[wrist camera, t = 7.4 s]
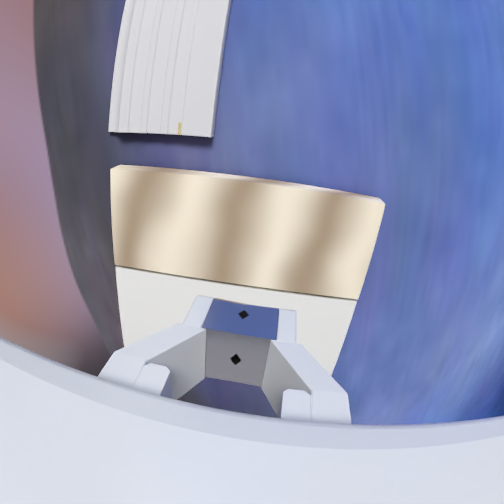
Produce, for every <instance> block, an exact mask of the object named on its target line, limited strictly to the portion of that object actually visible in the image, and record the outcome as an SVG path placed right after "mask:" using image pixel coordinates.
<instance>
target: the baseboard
mask: <svg viewBox="0 0 504 504" xmlns="http://www.w3.org/2000/svg"><path fill="white" fill-rule="evenodd" d="M231 1H232V0H126V2H125V7H124V12H123V17H122V22H121V28H120V34H119V40H118V46H117V53H116V60H115V67H114V75H113V84H112V93H111V104H110V117H109V132H124V133H157V134H176V135H189V136H202V137H213V136H214V127H215V118H216V109H217V101H218V92H219V84H220V76H221V69H222V61H223V54H224V47H225V40H226V33H227V26H228V20H229V13H230V7H231Z"/></svg>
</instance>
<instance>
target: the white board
mask: <svg viewBox="0 0 504 504" xmlns="http://www.w3.org/2000/svg"><path fill="white" fill-rule="evenodd" d="M116 278H117V290H118V300H119V310H120V318H121V327H122V334H123V341H124V347H126V346H129V345H131V344H133V343H135V342H138V341H140V340H142V339H144V338H147V337H149V336H151V335H153V334H155V333H158V332H160V331H162V330H164V329H166V328H169V327H171V326H173V325H175V324H177V323H179V324H183V322H184V320H185V318H186V316H187V314H188V312H189V310H190V308H191V306H192V304H193V302H194V300H195V298H196V297H197V296H198V295H202V296H208V297H214V298H219V299H224V300H229V301H234V302H240V303H245V304H248V305H256V306H263V307H271V308H280V309H289V310H295V311H296V343H298V344H302V345H303V347H304V348H305V349H306V350H307V351H308V352H309V353H310V354H311V355H312V356H313V357H314V358H315V359H316V361H317V362H318V363H319V364H320V365H321V366H322V367H323V368H324V369H325V370H326V371H327V372H328V373H329V374H330V376H331V375H332V372H333V370H334V367H335V364H336V362H337V359H338V356H339V353H340V351H341V348H342V345H343V342H344V339H345V336H346V333H347V331H348V328H349V325H350V322H351V319H352V316H353V312H354V309H355V306H356V303H357V301H356V299H350V298H341V297H333V296H324V295H316V294H308V293H300V292H292V291H285V290H277V289H270V288H262V287H255V286H248V285H241V284H234V283H227V282H220V281H213V280H207V279H200V278H194V277H187V276H181V275H174V274H168V273H162V272H156V271H150V270H144V269H138V268H132V267H126V266H120V265H117V266H116Z"/></svg>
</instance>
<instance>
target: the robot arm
mask: <svg viewBox="0 0 504 504" xmlns="http://www.w3.org/2000/svg"><path fill="white" fill-rule="evenodd" d="M205 377H209V378H215V379H221V380H228V381H234V382H239V383H244V384H250V385H255V386H261V388H262V390H263V392H264V394H265V395H266V397H267V399H268V401H269V403H270V404H271V406H272V408H273V410H274V412H275V413H276V418H274V417H267V416H260V415H253V414H246V413H240V412H234V411H228V410H223V409H218V408H212V407H207V406H203V405H198V404H193V403H189V402H184V401H180V400H177V399H178V398H180V397H181V396H182V395H184V394H185V393H186V392H188V391H189V390H190V389H191V388H193V387H194V386H195V385H197V384H198V383H199V382H200V381H202V380H203V379H204V378H205ZM0 504H504V416H498V417H491V418H483V419H475V420H467V421H456V422H445V423H429V424H405V425H362V424H351V417H350V409H349V401H348V394H347V392H346V391H345V390H344V389H343V388H342V387H341V386H340V385H339V384H338V383H337V382H336V381H335V380H334V379H333V378H332V377H331V376H330V374H329V373H328V372H327V371H326V370H325V369H324V368H323V367H322V366H321V365H320V364H319V363H318V362H317V361H316V359H315V358H314V357H313V356H312V355H311V354H310V353H309V352H308V351H307V350H306V349H305V348H304V347H303V345H302V344H298V343H296V311H295V310H289V309H280V308H271V307H263V306H256V305H248V304H245V303H240V302H234V301H229V300H224V299H219V298H214V297H208V296H202V295H198V296H197V297H196V298H195V300H194V302H193V304H192V306H191V308H190V310H189V312H188V314H187V316H186V318H185V320H184V322H183V324H179V323H177V324H175V325H173V326H171V327H169V328H166V329H164V330H162V331H160V332H158V333H155V334H153V335H151V336H149V337H147V338H144V339H142V340H140V341H138V342H135V343H133V344H131V345H129V346H126V347H124V348H122V349H120V350H117V351H115V352H114V353H113V355H112V356H111V358H110V359H109V361H108V362H107V364H106V365H105V367H104V368H103V369H102V371H101V373H100V374H99V375H98V377H96V376H93V375H90V374H88V373H85V372H82V371H79V370H77V369H74V368H71V367H69V366H66V365H63V364H61V363H58V362H56V361H53V360H51V359H48V358H46V357H44V356H41V355H39V354H36V353H34V352H32V351H29V350H27V349H25V348H23V347H21V346H19V345H16V344H14V343H12V342H10V341H8V340H6V339H4V338H2V337H0Z"/></svg>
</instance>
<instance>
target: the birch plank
mask: <svg viewBox="0 0 504 504" xmlns="http://www.w3.org/2000/svg"><path fill="white" fill-rule="evenodd" d="M384 208H385V203H384V202H383V201H382V200H381V199H380V198H377V197H372V196H366V195H361V194H356V193H350V192H345V191H339V190H333V189H328V188H322V187H316V186H309V185H303V184H297V183H290V182H283V181H276V180H269V179H262V178H254V177H246V176H238V175H230V174H221V173H212V172H203V171H193V170H182V169H171V168H159V167H146V166H131V165H118V166H116V167H114V168H112V169H111V214H112V233H113V248H114V260H115V265H120V266H126V267H132V268H138V269H144V270H150V271H156V272H162V273H168V274H174V275H181V276H187V277H194V278H200V279H207V280H213V281H220V282H227V283H234V284H241V285H248V286H255V287H262V288H270V289H277V290H285V291H292V292H300V293H308V294H316V295H324V296H333V297H341V298H350V299H358V298H359V295H360V292H361V289H362V286H363V283H364V280H365V276H366V273H367V270H368V266H369V263H370V260H371V256H372V253H373V249H374V246H375V242H376V239H377V235H378V231H379V228H380V224H381V220H382V216H383V212H384Z"/></svg>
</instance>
